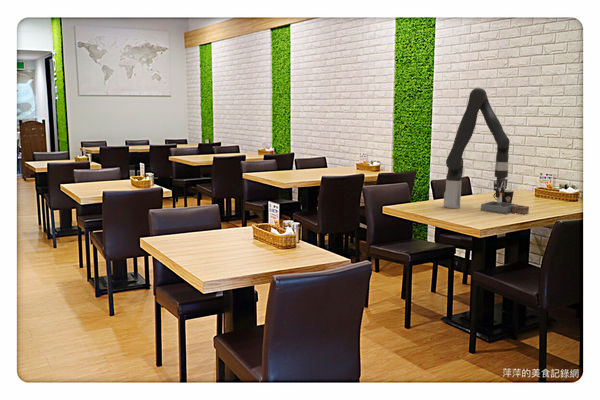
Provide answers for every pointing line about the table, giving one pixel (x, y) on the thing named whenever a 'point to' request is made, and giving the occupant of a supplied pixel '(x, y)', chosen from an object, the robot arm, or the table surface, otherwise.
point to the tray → (497, 207)
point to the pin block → (520, 209)
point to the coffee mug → (507, 196)
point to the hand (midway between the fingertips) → (499, 196)
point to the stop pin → (499, 200)
